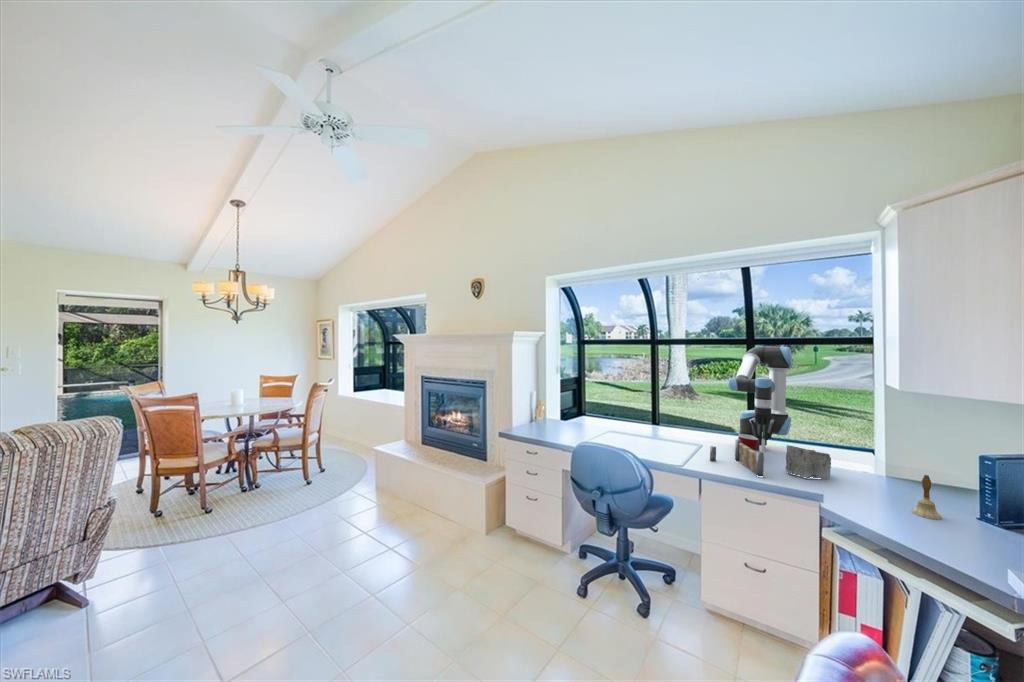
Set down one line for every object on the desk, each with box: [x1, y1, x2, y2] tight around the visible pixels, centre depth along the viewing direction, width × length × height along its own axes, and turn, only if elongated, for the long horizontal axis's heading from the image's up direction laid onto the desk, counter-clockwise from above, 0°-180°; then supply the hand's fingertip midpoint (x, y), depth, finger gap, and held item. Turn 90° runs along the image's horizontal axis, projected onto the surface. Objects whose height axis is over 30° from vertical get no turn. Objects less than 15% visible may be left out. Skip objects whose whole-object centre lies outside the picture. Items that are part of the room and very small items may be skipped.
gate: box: [739, 443, 757, 474], centre depth 206 cm, size 20×1×10 cm, turn 172°
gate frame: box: [709, 438, 765, 477], centre depth 208 cm, size 27×17×12 cm, turn 172°
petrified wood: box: [785, 444, 832, 480], centre depth 198 cm, size 19×17×15 cm
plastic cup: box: [738, 433, 758, 451], centre depth 228 cm, size 11×11×12 cm
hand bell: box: [911, 474, 942, 521], centre depth 154 cm, size 8×8×16 cm
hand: (762, 451), depth 204 cm, fingers closed
